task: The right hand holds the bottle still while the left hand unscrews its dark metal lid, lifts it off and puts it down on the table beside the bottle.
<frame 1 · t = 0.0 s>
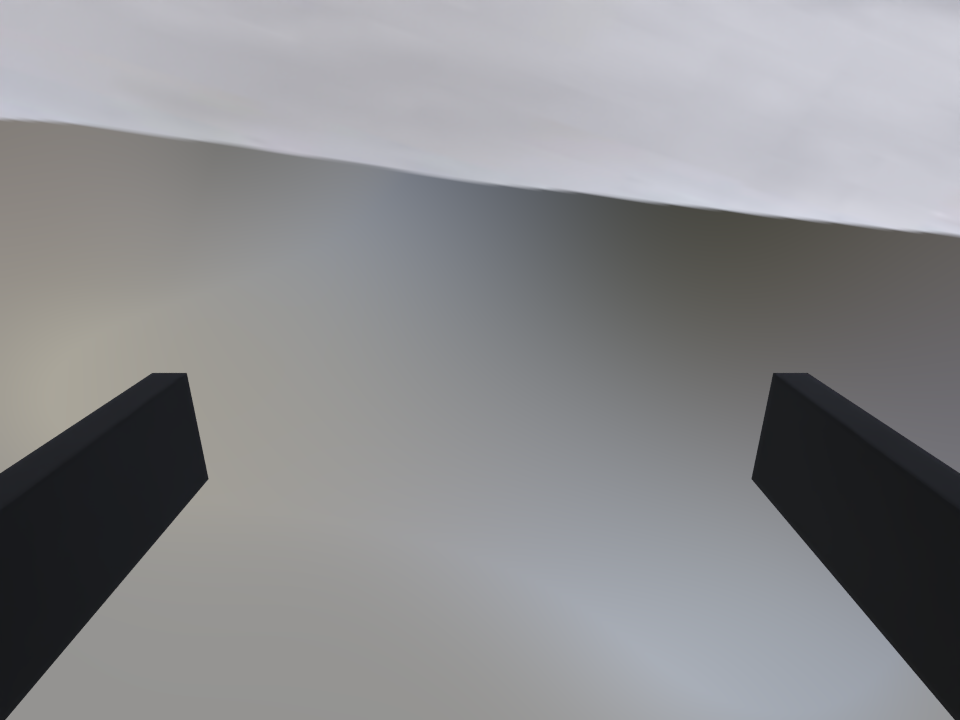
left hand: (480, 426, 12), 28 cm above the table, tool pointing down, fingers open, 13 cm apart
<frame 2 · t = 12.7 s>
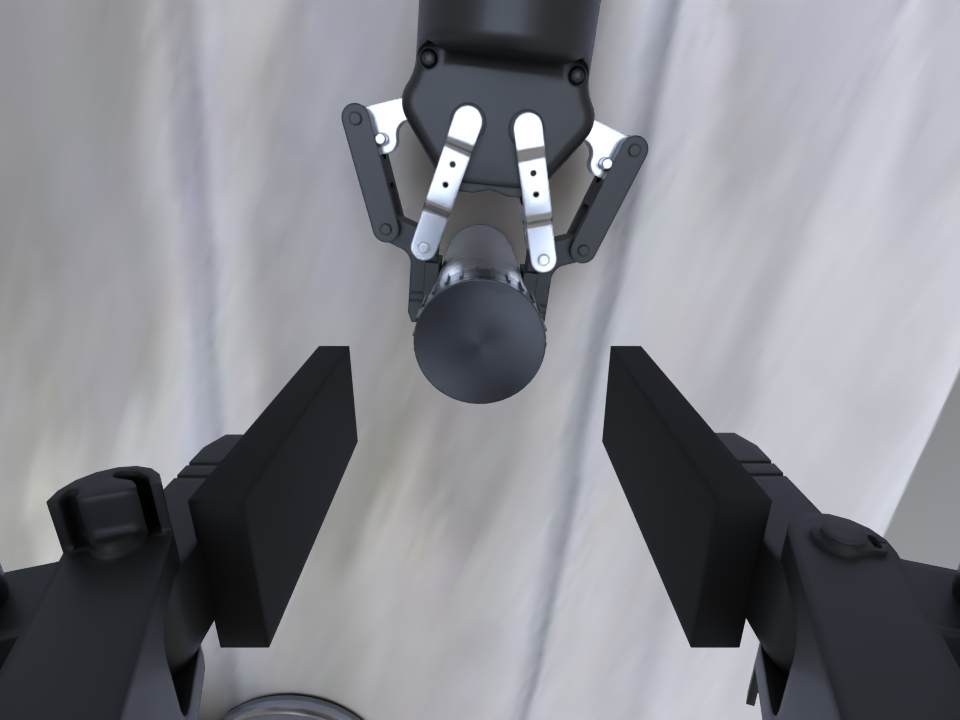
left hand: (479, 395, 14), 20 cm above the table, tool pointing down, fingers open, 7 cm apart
right hand: (475, 333, 28), fingers closed on bottle, 4 cm apart
lid: (479, 340, 18), point 16 cm above the table, screwed on, not yet turned
bottle: (479, 258, 33), on the table, touching right hand
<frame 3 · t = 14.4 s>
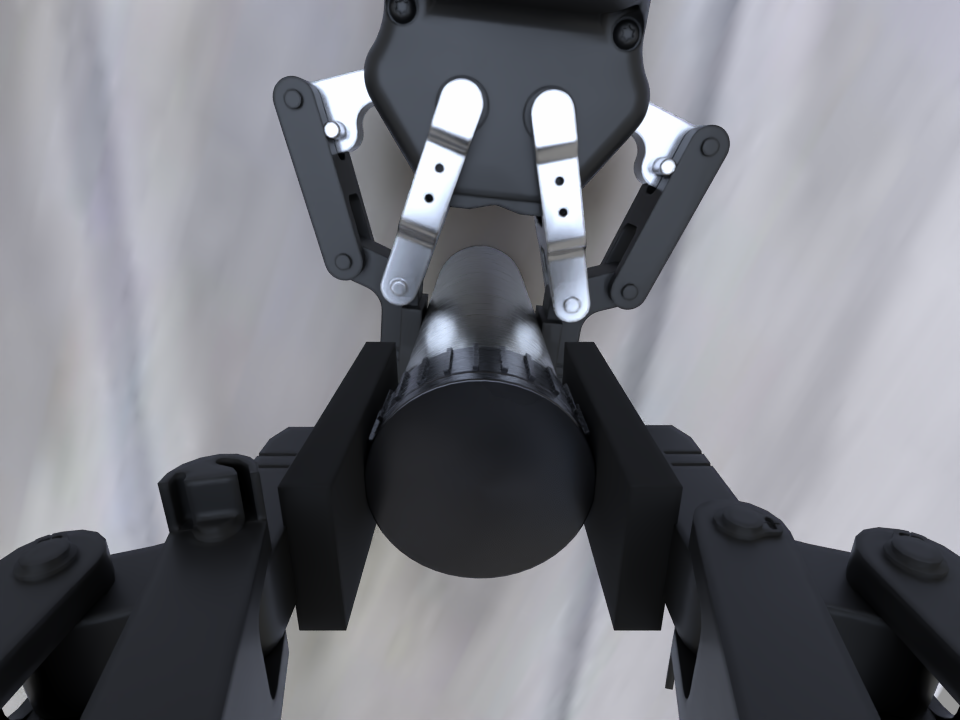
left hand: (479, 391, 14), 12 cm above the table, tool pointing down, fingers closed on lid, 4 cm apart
right hand: (473, 401, 20), fingers closed on bottle, 4 cm apart
lid: (480, 476, 10), point 16 cm above the table, screwed on, not yet turned, touching left hand
bottle: (480, 289, 25), on the table, touching right hand
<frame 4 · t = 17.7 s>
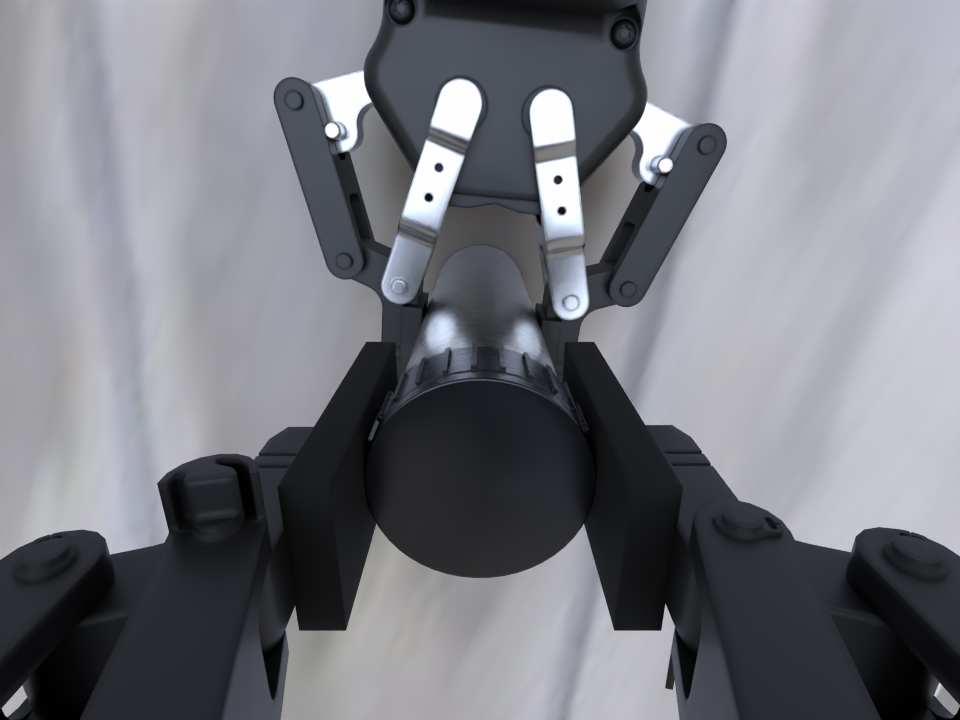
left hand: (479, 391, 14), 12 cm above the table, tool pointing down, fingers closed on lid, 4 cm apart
right hand: (473, 398, 20), fingers closed on bottle, 4 cm apart
lid: (480, 475, 10), point 16 cm above the table, turned 111° so far, risen 0.2 cm, still on its thread, touching left hand
bottle: (480, 287, 25), on the table, touching right hand
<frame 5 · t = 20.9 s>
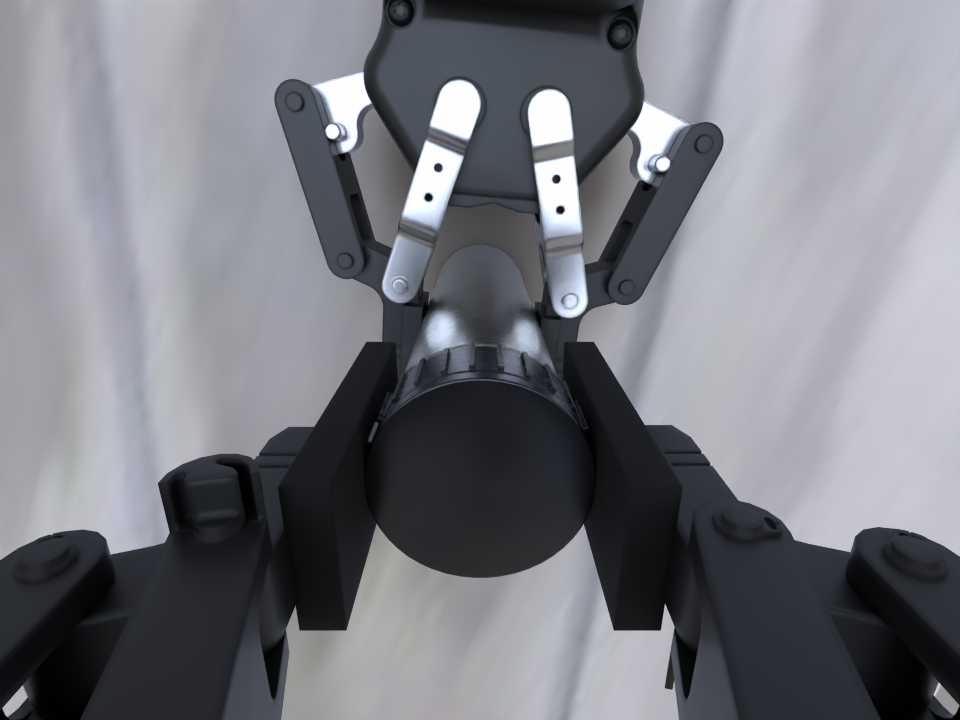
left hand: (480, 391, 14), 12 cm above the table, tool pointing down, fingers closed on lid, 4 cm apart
right hand: (474, 396, 20), fingers closed on bottle, 4 cm apart
lid: (480, 475, 10), point 16 cm above the table, turned 223° so far, risen 0.3 cm, still on its thread, touching left hand
bottle: (480, 287, 26), on the table, touching right hand
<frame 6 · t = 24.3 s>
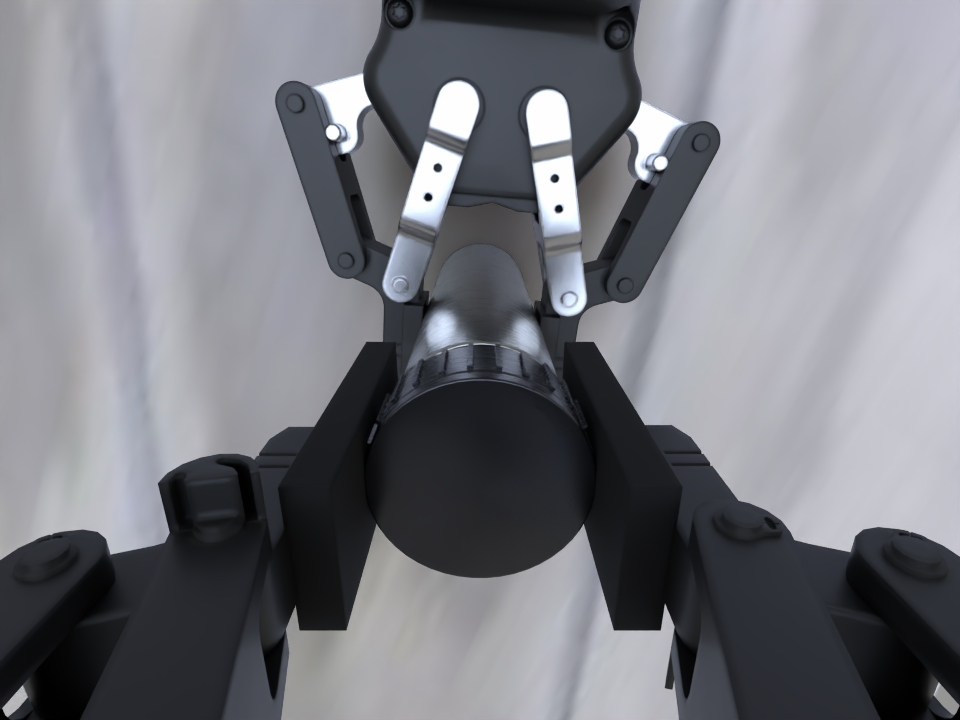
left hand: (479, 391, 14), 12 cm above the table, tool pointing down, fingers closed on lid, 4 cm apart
right hand: (474, 395, 21), fingers closed on bottle, 4 cm apart
lid: (480, 475, 10), point 16 cm above the table, turned 334° so far, risen 0.5 cm, still on its thread, touching left hand
bottle: (480, 286, 26), on the table, touching right hand
when the left hand's fingers open (0 cm above the table, at t = 30.7 s): lid drops 3 cm, point 1 cm above the table.
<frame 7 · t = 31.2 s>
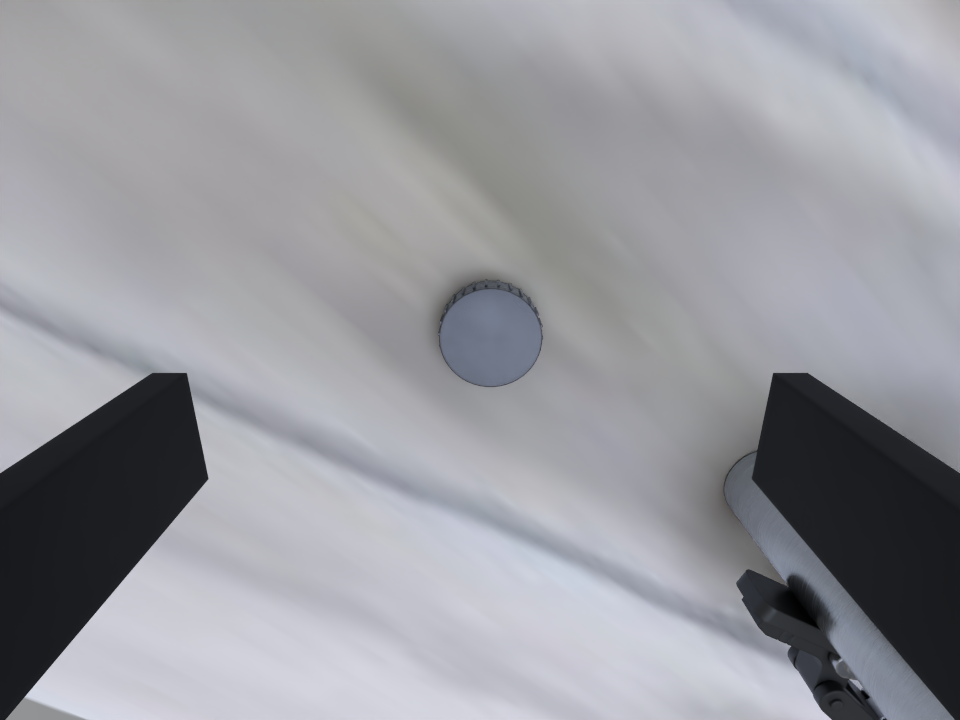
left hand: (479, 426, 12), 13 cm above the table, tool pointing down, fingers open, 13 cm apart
lid: (490, 336, 23), point 1 cm above the table, off its thread
bottle: (764, 484, 27), on the table, touching right hand
when the right hand's fingers open (7 cm above the table, at t = 31.3 s): bottle stays where it is, on the table.
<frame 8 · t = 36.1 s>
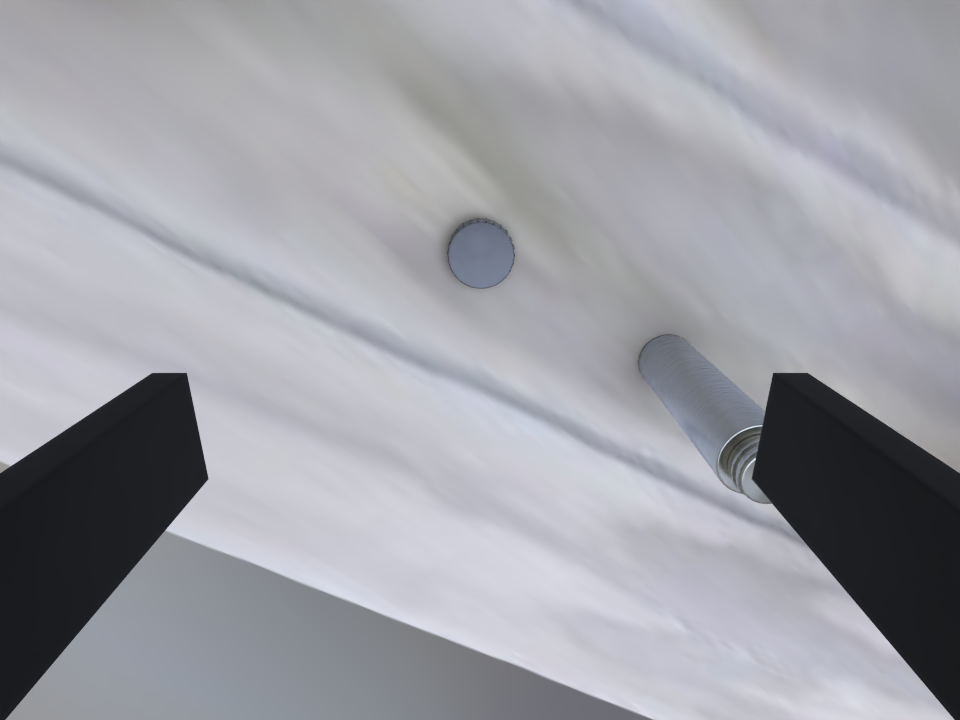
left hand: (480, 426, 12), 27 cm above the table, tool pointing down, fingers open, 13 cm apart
lid: (481, 255, 36), point 1 cm above the table, off its thread
bottle: (665, 360, 40), on the table
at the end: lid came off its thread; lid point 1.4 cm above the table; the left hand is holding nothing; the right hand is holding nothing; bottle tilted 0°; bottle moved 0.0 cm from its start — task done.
